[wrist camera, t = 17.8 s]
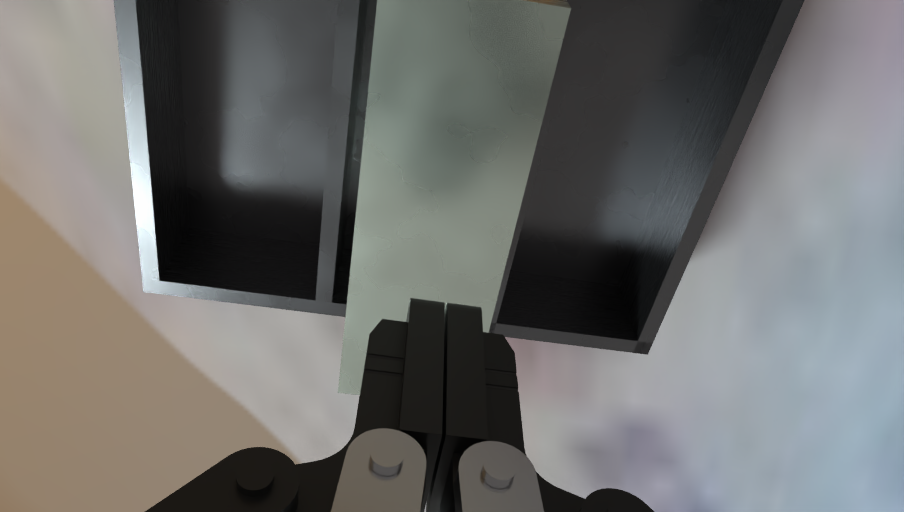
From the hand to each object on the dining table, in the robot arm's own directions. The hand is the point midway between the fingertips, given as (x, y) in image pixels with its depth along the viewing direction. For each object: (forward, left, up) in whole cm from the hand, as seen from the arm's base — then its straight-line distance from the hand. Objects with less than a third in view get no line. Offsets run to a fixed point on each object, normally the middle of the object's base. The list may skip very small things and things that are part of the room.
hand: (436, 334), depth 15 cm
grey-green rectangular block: (0, 0, -13) cm, 13 cm away
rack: (0, 0, -13) cm, 13 cm away
